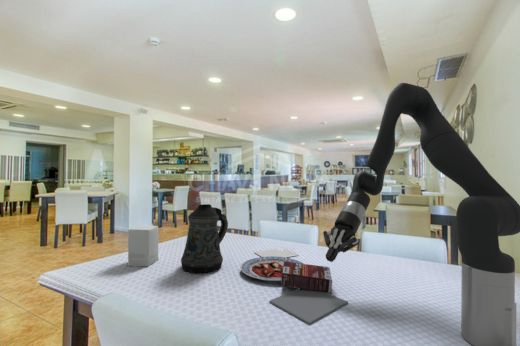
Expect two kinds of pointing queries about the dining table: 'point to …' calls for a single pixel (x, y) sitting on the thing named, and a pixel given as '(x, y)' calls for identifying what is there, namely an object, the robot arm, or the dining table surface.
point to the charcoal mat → (308, 304)
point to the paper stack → (275, 253)
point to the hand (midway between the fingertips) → (328, 260)
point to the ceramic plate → (266, 267)
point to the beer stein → (204, 240)
